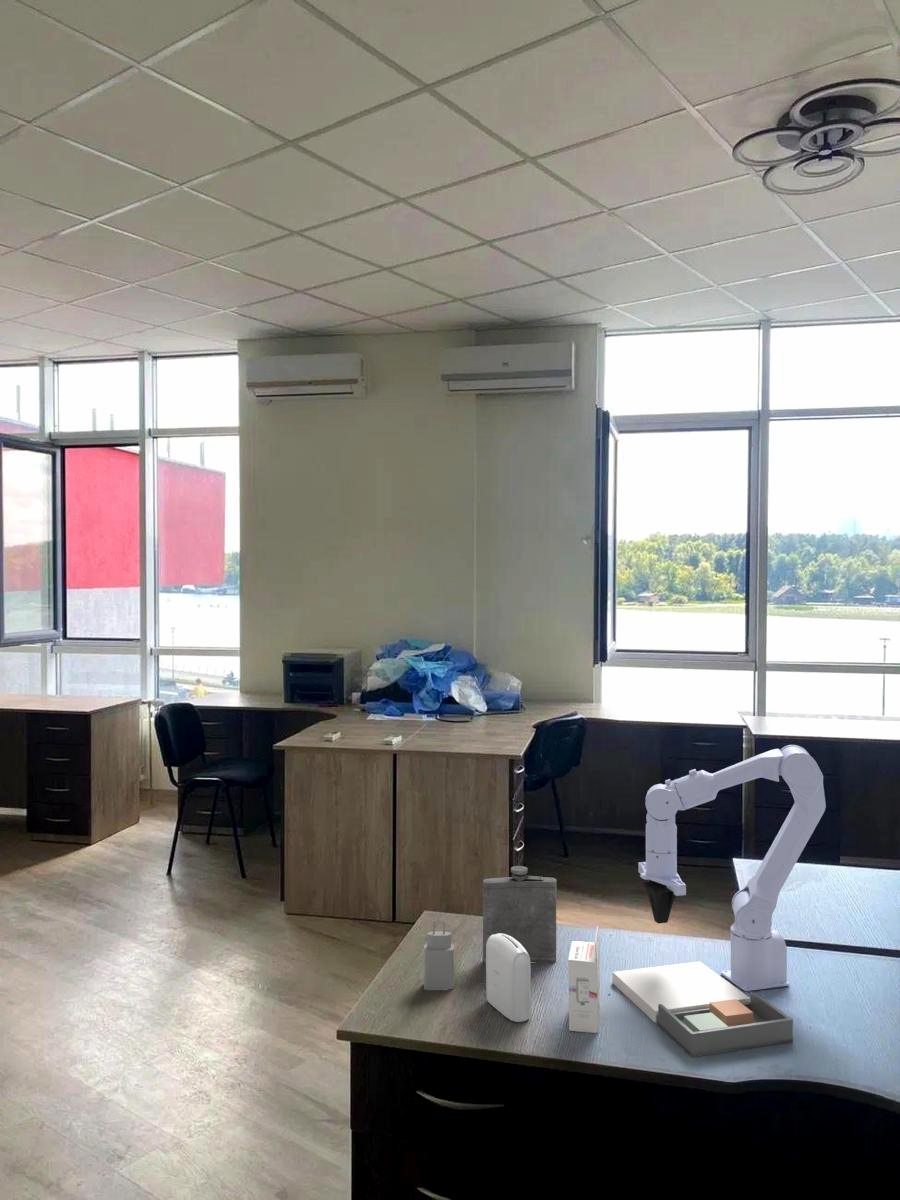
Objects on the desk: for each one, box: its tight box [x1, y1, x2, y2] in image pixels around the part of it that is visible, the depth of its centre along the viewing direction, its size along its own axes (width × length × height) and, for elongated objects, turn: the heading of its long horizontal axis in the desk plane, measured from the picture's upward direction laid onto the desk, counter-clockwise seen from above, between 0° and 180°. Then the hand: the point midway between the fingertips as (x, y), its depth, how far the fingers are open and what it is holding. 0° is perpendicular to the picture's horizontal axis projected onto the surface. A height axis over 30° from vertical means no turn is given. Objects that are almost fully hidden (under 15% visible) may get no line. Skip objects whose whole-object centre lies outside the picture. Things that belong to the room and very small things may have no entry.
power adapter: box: [423, 919, 455, 991], centre depth 160 cm, size 3×5×12 cm, turn 91°
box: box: [655, 991, 794, 1058], centre depth 143 cm, size 18×11×4 cm, turn 106°
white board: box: [612, 960, 750, 1024], centre depth 156 cm, size 18×16×2 cm
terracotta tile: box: [709, 999, 753, 1027], centre depth 146 cm, size 5×5×2 cm
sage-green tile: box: [684, 1013, 728, 1032], centre depth 141 cm, size 5×5×2 cm
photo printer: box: [485, 933, 532, 1023], centre depth 151 cm, size 10×4×12 cm, turn 26°
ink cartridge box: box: [567, 925, 601, 1034], centre depth 147 cm, size 9×5×15 cm, turn 168°
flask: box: [482, 865, 557, 965], centre depth 171 cm, size 4×14×18 cm, turn 94°
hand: (661, 921), depth 166 cm, fingers closed
